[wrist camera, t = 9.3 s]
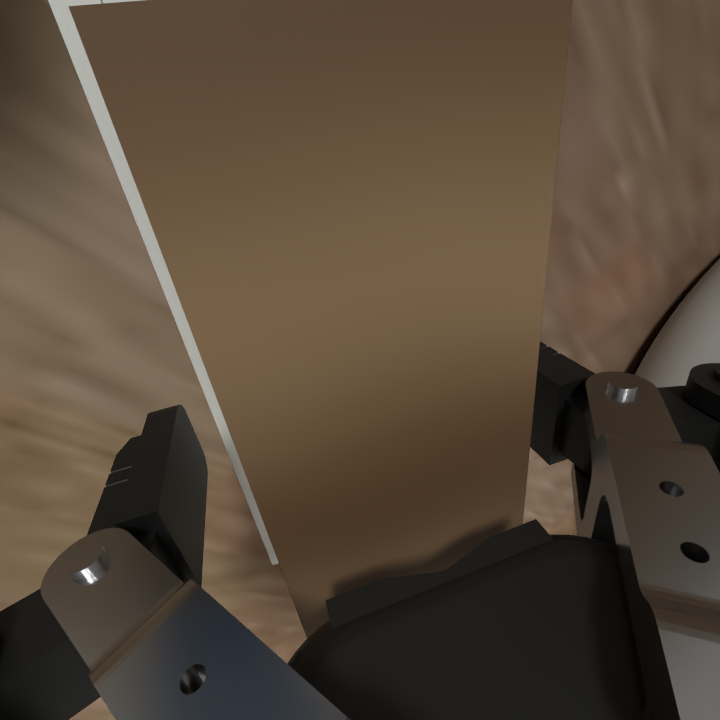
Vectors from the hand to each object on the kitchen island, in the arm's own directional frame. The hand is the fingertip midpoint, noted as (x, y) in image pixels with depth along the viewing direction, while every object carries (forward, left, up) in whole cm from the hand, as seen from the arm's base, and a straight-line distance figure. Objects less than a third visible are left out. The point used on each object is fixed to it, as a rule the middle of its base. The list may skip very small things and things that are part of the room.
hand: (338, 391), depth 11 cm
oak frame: (0, 0, -5) cm, 5 cm away
